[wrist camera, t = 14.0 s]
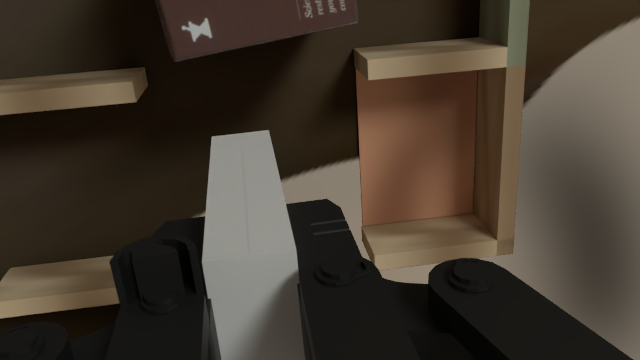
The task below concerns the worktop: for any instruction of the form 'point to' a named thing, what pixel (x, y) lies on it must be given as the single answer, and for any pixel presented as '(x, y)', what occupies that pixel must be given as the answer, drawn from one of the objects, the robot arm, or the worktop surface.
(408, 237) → the tray
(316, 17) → the box
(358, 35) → the worktop surface
